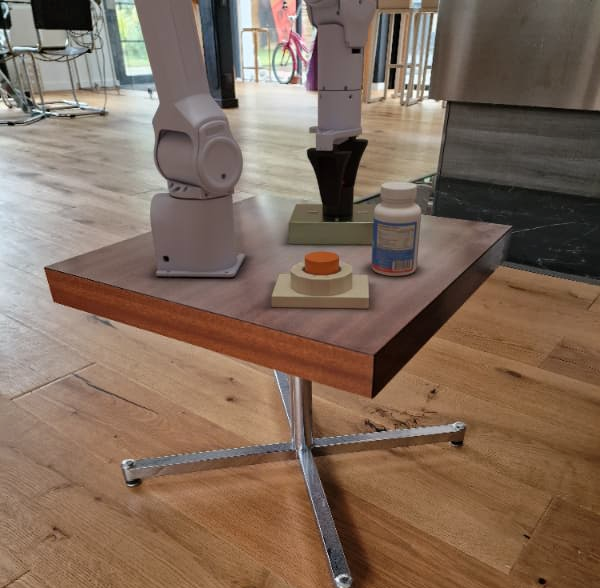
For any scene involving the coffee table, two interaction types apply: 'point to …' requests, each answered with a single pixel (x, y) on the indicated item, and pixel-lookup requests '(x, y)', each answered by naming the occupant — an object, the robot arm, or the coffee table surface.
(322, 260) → the button
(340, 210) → the dial
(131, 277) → the coffee table surface
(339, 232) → the panel
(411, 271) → the pill bottle
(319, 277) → the switch block
